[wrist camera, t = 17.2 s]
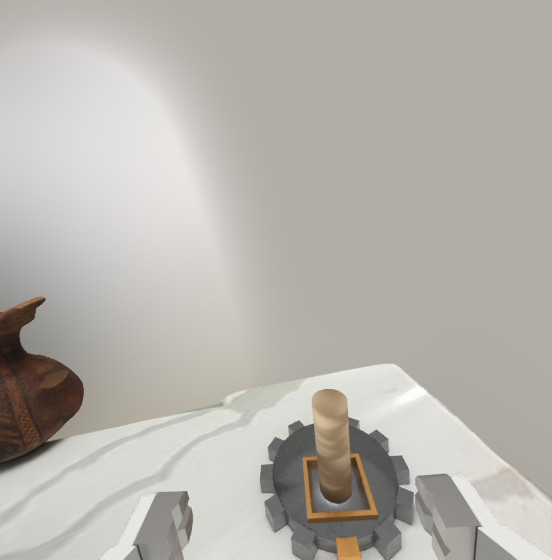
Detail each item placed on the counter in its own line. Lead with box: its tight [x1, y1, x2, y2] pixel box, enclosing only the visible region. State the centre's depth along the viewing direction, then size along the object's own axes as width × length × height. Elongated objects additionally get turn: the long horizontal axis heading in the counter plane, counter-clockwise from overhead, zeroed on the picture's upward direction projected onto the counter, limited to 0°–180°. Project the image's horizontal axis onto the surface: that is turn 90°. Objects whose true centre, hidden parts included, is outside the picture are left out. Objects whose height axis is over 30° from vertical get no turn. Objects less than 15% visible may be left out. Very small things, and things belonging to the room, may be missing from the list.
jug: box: [0, 297, 84, 462], centre depth 54 cm, size 22×22×30 cm
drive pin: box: [312, 389, 352, 504], centre depth 35 cm, size 4×4×14 cm
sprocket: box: [260, 417, 414, 560], centre depth 40 cm, size 22×22×3 cm
